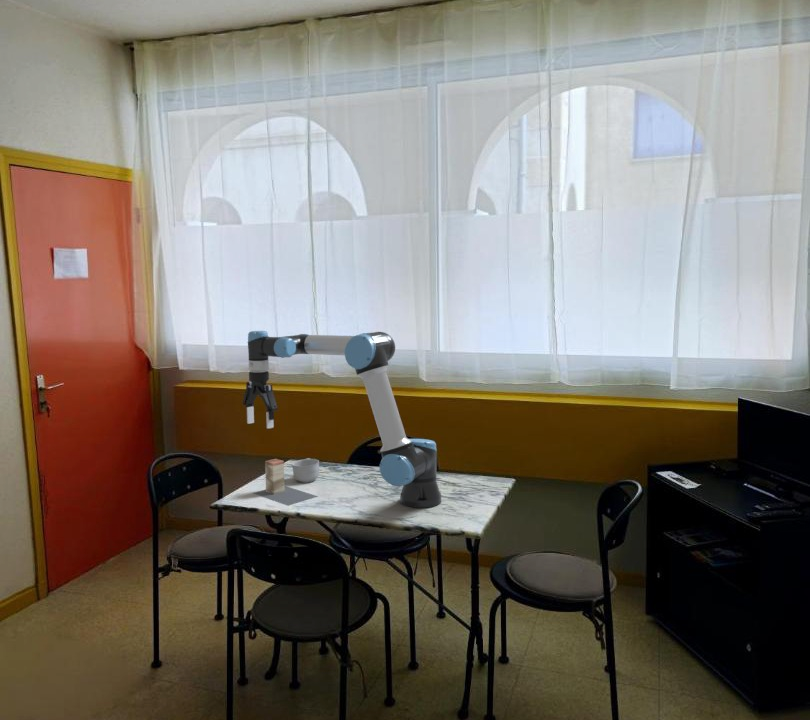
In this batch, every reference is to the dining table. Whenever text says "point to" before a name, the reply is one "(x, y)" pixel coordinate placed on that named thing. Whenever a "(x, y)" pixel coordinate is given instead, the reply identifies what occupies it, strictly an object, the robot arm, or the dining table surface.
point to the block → (274, 476)
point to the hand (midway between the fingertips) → (260, 425)
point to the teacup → (306, 470)
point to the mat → (287, 496)
